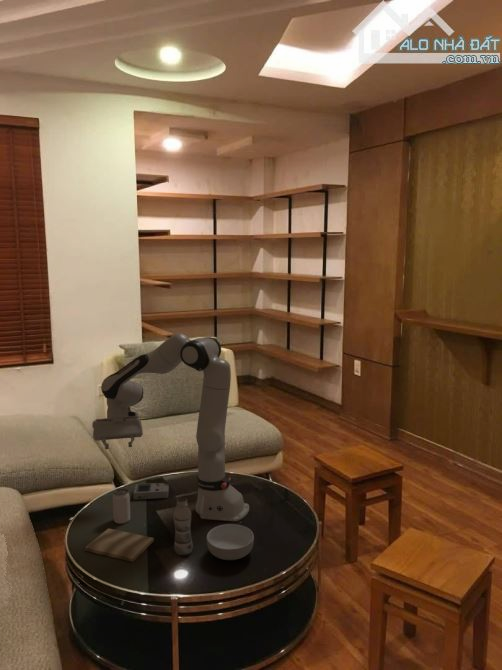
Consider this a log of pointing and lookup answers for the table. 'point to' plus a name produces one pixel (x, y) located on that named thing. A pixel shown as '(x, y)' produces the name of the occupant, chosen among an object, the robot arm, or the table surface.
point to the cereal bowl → (230, 541)
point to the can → (121, 506)
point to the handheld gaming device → (151, 491)
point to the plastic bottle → (182, 528)
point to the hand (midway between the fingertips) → (118, 447)
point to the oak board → (119, 544)
